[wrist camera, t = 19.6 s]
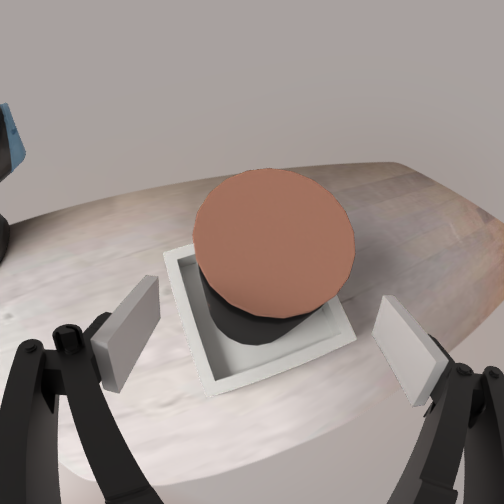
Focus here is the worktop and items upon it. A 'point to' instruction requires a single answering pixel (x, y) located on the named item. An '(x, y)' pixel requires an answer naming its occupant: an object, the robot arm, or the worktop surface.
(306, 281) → the coffee jar
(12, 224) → the worktop surface
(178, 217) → the worktop surface
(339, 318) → the white square tray
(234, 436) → the worktop surface
